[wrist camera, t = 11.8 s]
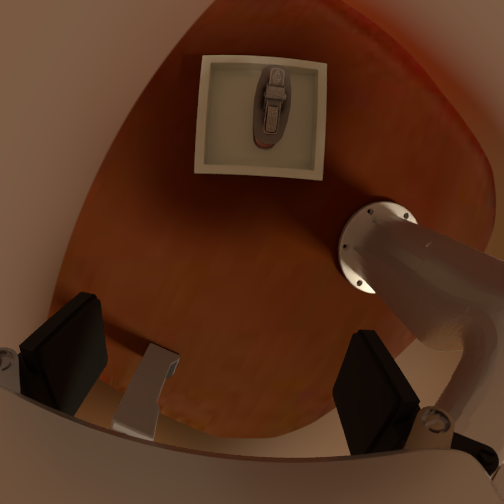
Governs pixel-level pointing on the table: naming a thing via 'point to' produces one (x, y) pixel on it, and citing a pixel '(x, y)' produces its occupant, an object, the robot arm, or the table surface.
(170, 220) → the table surface
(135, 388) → the vintage mobile phone
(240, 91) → the tray
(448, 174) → the table surface
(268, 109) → the lighter
